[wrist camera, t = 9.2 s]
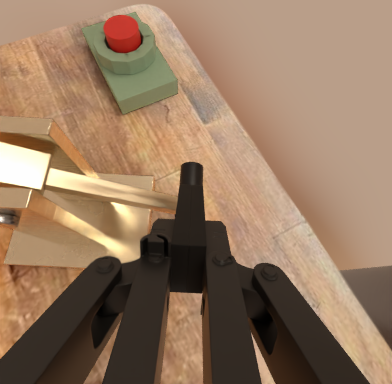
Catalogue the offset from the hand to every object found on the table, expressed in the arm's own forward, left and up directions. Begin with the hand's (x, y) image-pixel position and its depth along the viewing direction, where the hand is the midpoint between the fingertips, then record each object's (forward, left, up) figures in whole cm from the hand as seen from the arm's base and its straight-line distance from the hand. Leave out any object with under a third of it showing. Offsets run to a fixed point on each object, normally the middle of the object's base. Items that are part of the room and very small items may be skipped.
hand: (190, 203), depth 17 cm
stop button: (+21, -3, -4) cm, 22 cm away
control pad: (+21, -3, -8) cm, 23 cm away
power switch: (+5, +8, -8) cm, 13 cm away
